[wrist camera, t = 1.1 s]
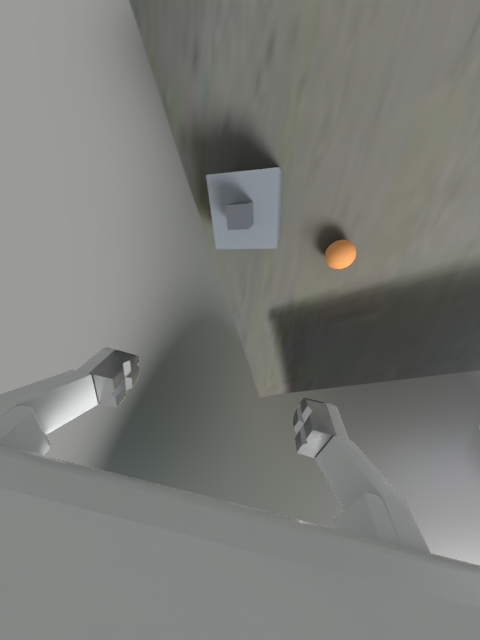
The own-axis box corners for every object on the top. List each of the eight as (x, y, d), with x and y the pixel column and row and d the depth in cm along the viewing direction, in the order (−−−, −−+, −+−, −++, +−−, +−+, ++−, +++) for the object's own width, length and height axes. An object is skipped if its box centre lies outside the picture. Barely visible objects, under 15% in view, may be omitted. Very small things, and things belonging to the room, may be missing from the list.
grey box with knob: (282, 170, 32) (277, 164, 22) (279, 236, 38) (274, 255, 28) (223, 176, 35) (194, 173, 24) (229, 237, 40) (207, 256, 30)
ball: (355, 236, 35) (363, 243, 31) (348, 263, 38) (355, 273, 34) (325, 237, 36) (329, 243, 32) (321, 263, 39) (324, 272, 35)
